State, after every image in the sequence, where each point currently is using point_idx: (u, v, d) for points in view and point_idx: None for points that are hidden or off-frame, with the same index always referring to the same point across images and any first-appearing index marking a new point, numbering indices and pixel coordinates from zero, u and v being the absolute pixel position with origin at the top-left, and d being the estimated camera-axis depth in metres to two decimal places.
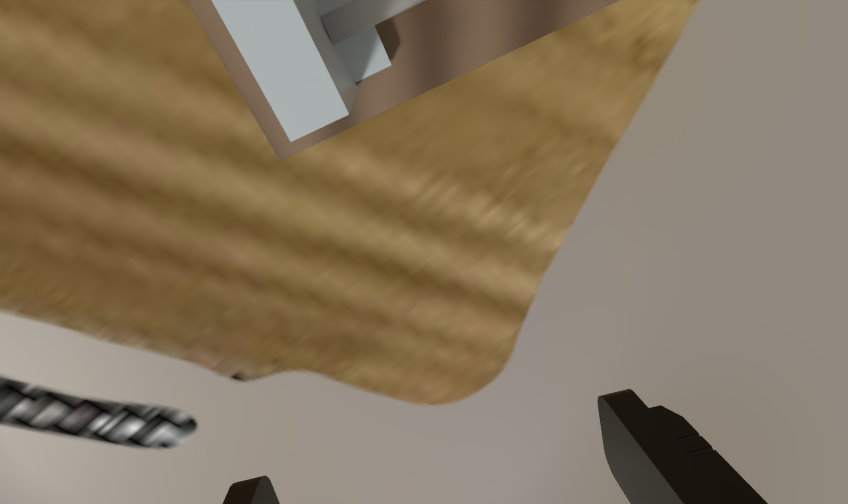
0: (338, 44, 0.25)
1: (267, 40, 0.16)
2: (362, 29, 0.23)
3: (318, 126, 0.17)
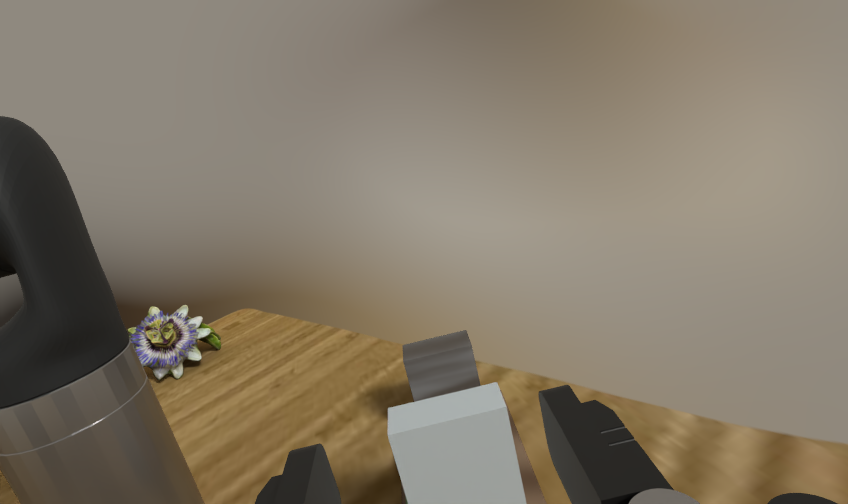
0: None
1: (443, 410, 0.26)
2: None
3: (500, 393, 0.26)
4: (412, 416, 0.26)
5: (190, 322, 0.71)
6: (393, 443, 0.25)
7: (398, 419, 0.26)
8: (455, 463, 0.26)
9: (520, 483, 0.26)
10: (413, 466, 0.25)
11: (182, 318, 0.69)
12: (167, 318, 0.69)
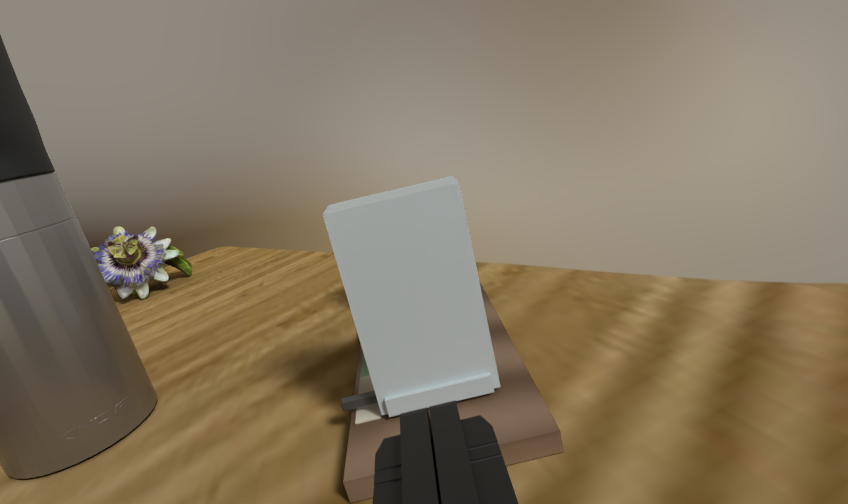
0: None
1: (388, 195, 0.23)
2: None
3: (453, 178, 0.23)
4: (354, 203, 0.23)
5: (158, 244, 0.67)
6: (329, 225, 0.22)
7: (337, 207, 0.23)
8: (402, 254, 0.22)
9: (477, 283, 0.23)
10: (353, 256, 0.22)
11: (148, 238, 0.66)
12: None
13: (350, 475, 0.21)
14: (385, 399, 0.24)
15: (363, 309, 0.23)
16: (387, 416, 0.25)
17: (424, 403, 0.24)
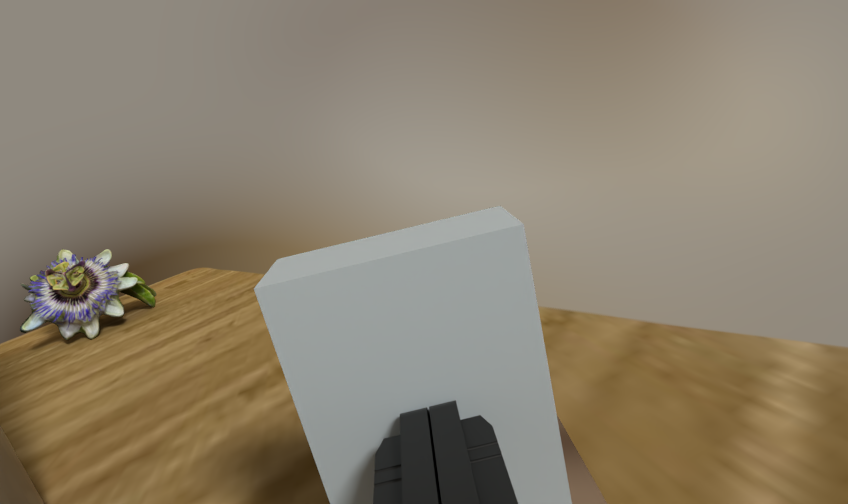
0: None
1: (385, 246, 0.12)
2: None
3: (507, 213, 0.12)
4: (319, 261, 0.12)
5: (112, 270, 0.56)
6: (268, 309, 0.11)
7: (288, 267, 0.12)
8: (411, 359, 0.12)
9: (551, 408, 0.12)
10: (316, 364, 0.12)
11: (100, 263, 0.55)
12: None
13: None
14: None
15: (337, 458, 0.12)
16: None
17: None
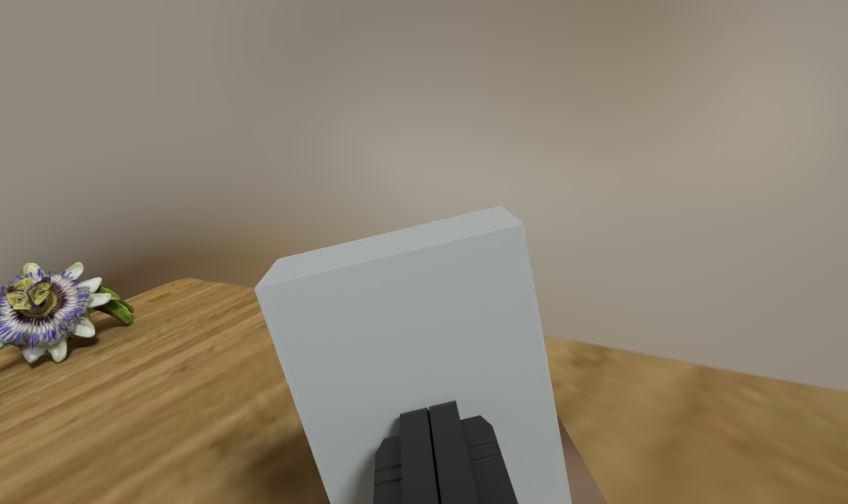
0: None
1: (385, 246, 0.12)
2: None
3: (508, 213, 0.12)
4: (319, 261, 0.12)
5: (84, 285, 0.51)
6: (269, 309, 0.11)
7: (288, 268, 0.12)
8: (411, 359, 0.12)
9: (551, 408, 0.12)
10: (317, 364, 0.12)
11: (69, 278, 0.49)
12: None
13: None
14: None
15: (338, 458, 0.12)
16: None
17: None
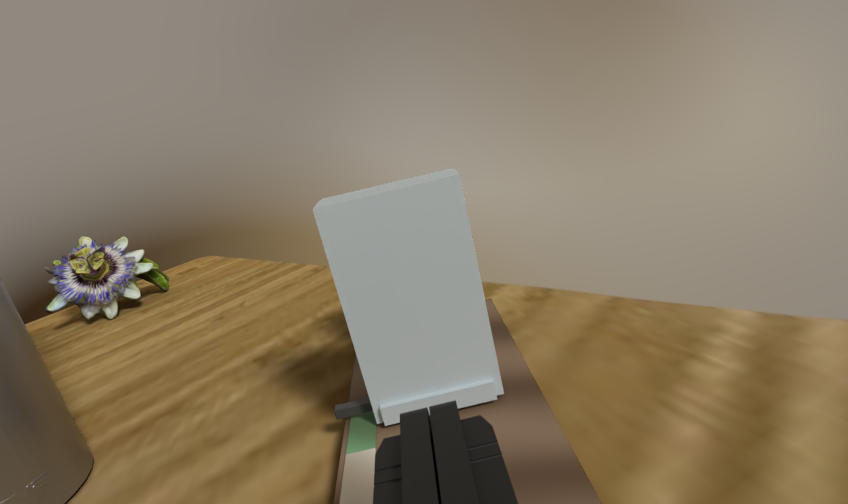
0: None
1: (384, 188, 0.21)
2: None
3: (453, 170, 0.21)
4: (347, 197, 0.21)
5: (129, 256, 0.60)
6: (320, 220, 0.20)
7: (329, 201, 0.21)
8: (398, 252, 0.21)
9: (479, 283, 0.21)
10: (345, 253, 0.21)
11: (118, 249, 0.58)
12: None
13: None
14: (381, 407, 0.23)
15: (356, 311, 0.21)
16: None
17: None
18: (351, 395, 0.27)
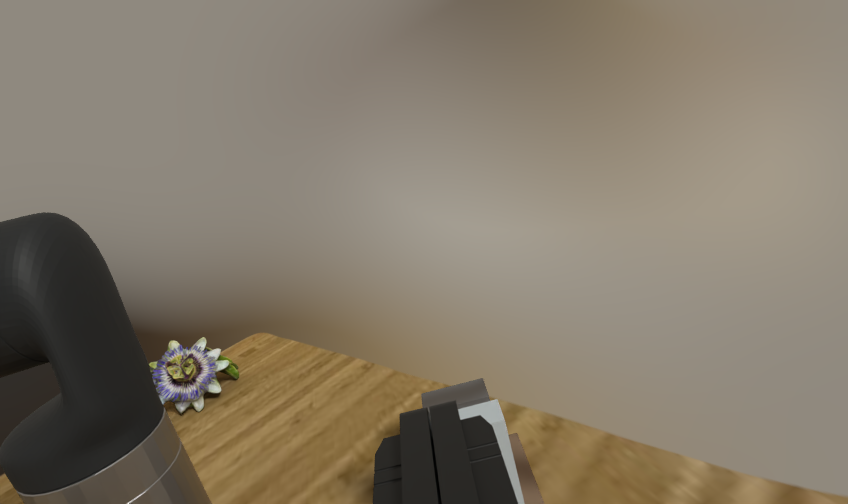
0: None
1: None
2: None
3: (499, 409, 0.33)
4: None
5: (209, 354, 0.72)
6: None
7: None
8: None
9: (517, 478, 0.33)
10: None
11: (201, 351, 0.71)
12: (187, 352, 0.70)
13: None
14: None
15: None
16: None
17: None
18: None
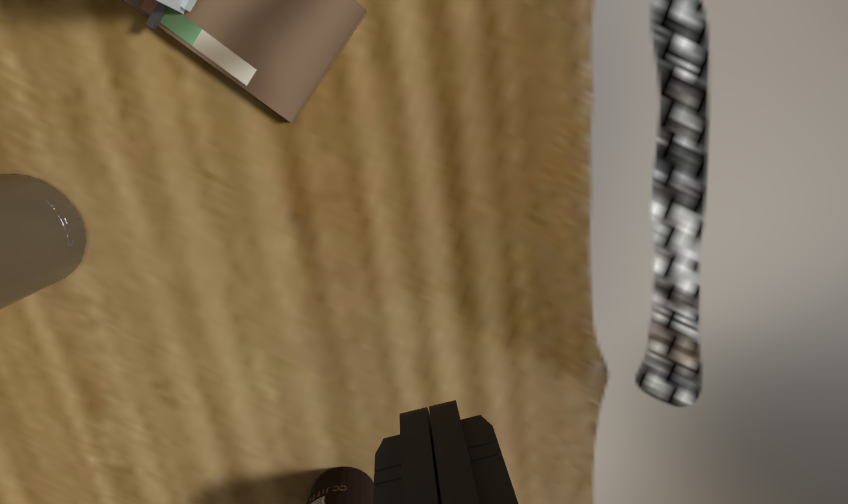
0: None
1: None
2: None
3: None
4: None
5: None
6: None
7: None
8: None
9: None
10: None
11: None
12: None
13: (289, 116, 0.36)
14: (182, 6, 0.33)
15: None
16: (259, 65, 0.35)
17: None
18: (127, 1, 0.33)
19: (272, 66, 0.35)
